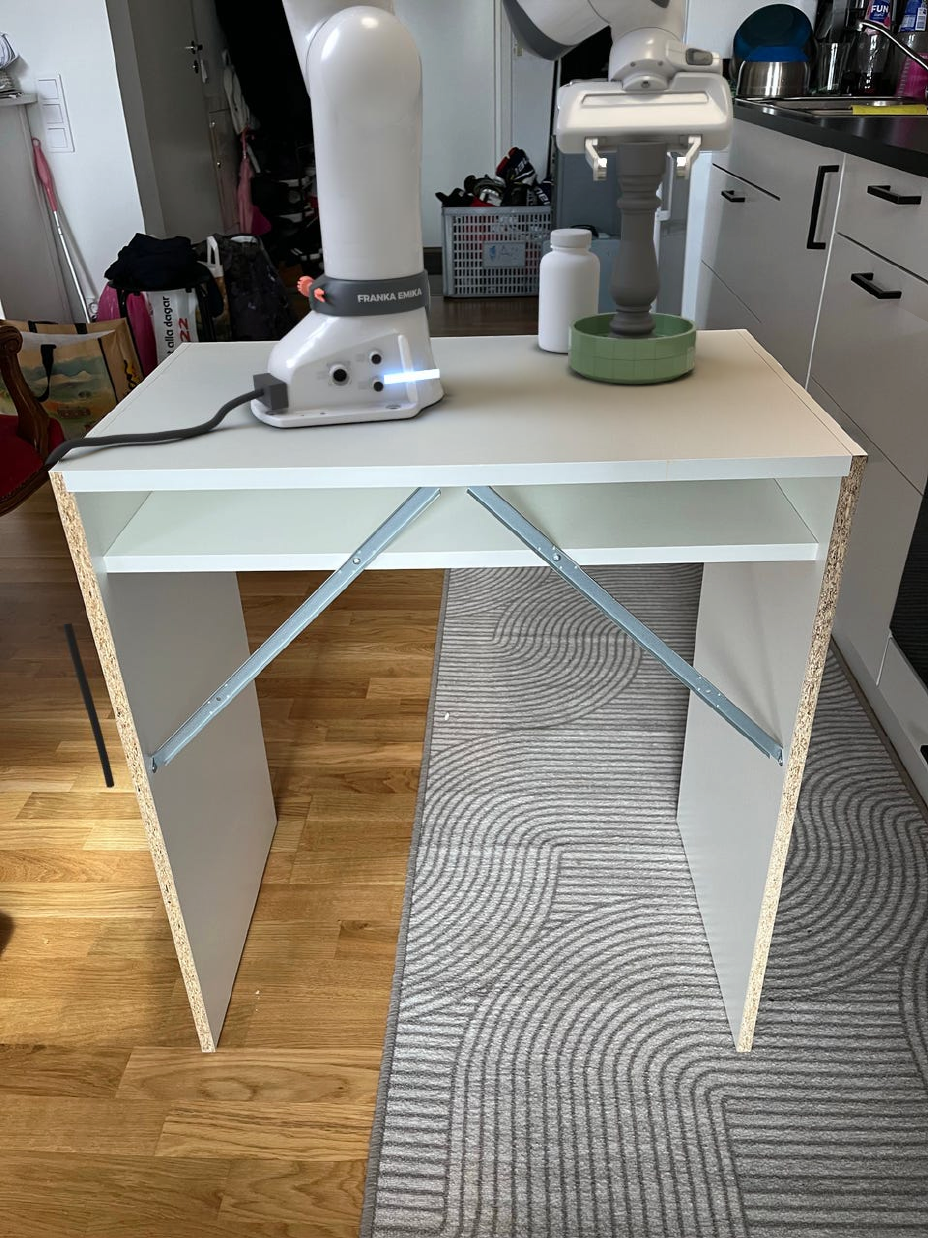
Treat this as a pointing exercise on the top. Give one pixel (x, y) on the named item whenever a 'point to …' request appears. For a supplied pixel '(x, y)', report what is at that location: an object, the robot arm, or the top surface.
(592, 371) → the bowl
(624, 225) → the candle holder
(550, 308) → the pill bottle
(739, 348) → the top surface
